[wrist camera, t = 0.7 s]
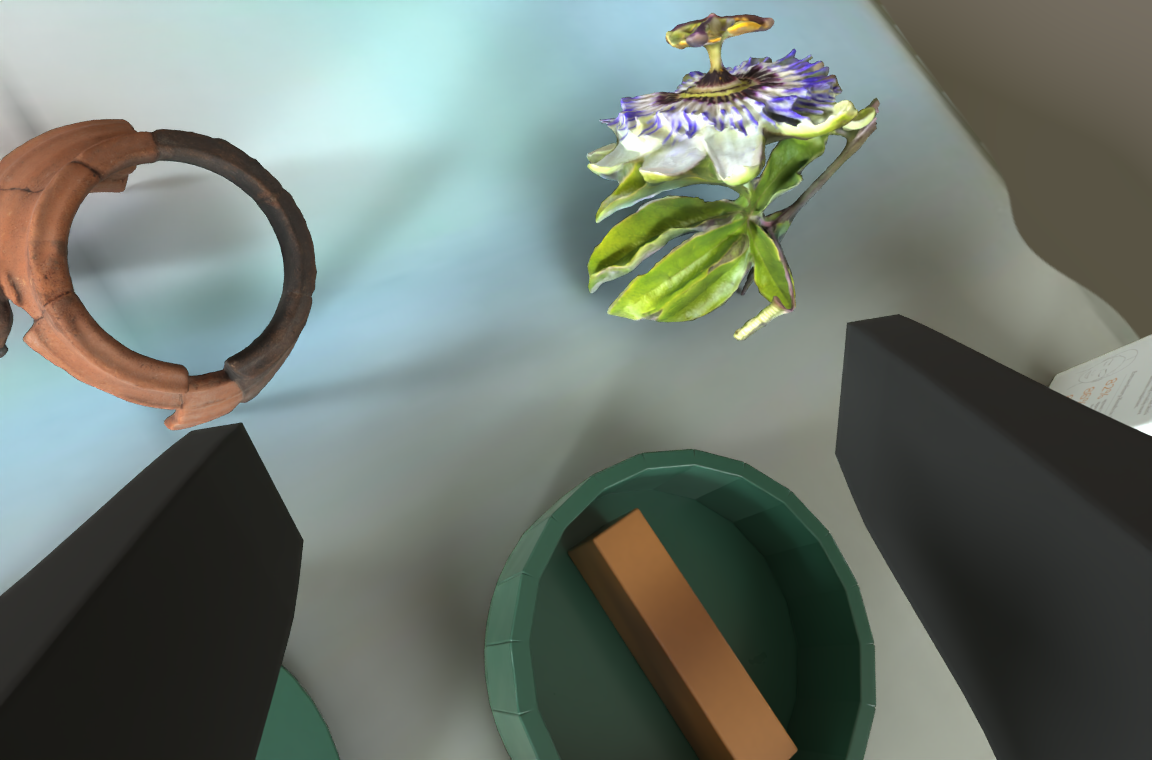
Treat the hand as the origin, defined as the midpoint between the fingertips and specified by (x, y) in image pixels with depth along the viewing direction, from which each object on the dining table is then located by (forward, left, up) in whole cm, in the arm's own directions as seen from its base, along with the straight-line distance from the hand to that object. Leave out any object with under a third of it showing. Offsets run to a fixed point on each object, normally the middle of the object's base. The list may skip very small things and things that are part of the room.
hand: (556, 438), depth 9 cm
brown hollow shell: (+10, +9, -17) cm, 22 cm away
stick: (-3, -8, -17) cm, 19 cm away
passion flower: (+14, -13, -17) cm, 26 cm away
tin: (-3, -8, -17) cm, 19 cm away
